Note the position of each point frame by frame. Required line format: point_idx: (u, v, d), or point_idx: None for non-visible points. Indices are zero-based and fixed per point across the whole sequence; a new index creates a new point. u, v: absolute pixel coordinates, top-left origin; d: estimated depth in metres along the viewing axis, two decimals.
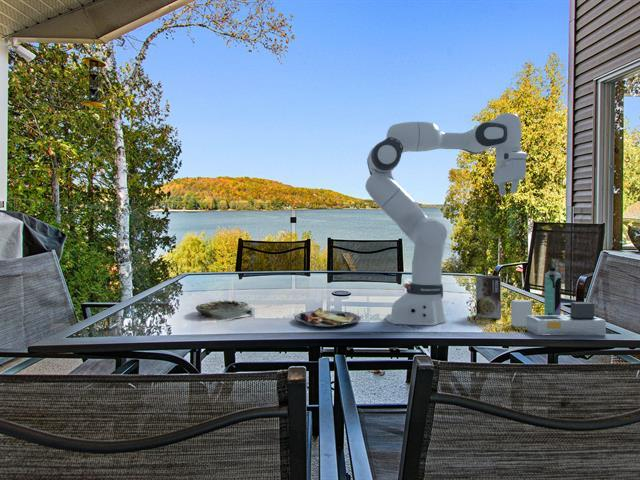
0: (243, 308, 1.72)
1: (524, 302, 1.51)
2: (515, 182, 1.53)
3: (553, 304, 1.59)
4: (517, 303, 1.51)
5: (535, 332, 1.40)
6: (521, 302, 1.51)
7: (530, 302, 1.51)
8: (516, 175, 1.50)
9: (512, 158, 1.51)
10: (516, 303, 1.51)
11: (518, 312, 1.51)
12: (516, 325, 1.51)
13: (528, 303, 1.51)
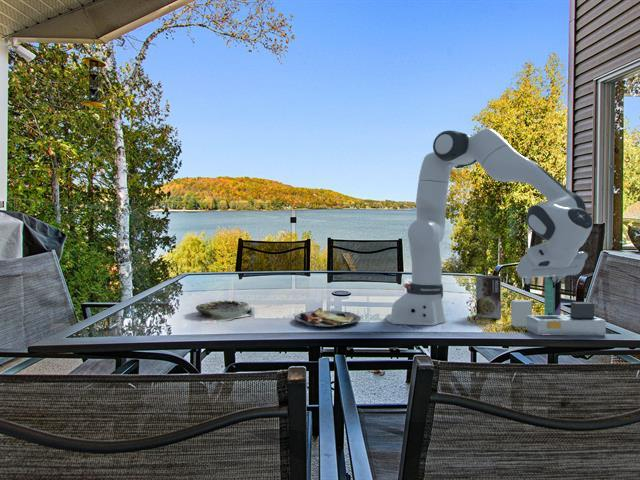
0: (243, 308, 1.72)
1: (524, 302, 1.51)
2: None
3: (553, 304, 1.59)
4: (517, 303, 1.51)
5: (535, 332, 1.40)
6: (521, 302, 1.51)
7: (530, 302, 1.51)
8: (516, 268, 1.37)
9: (527, 253, 1.33)
10: (516, 303, 1.51)
11: (518, 312, 1.51)
12: (516, 325, 1.51)
13: (528, 303, 1.51)
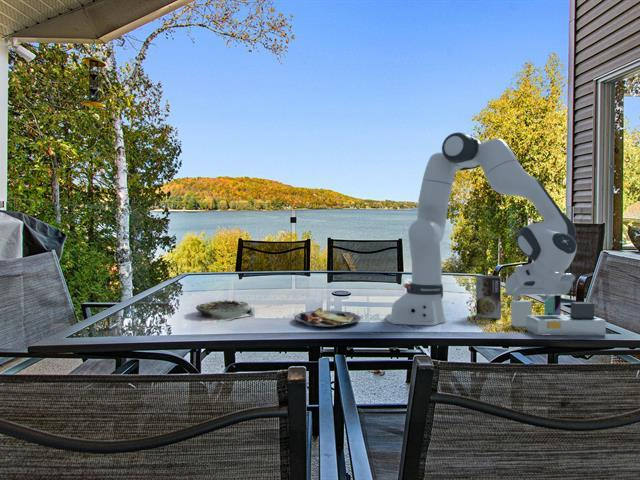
0: (243, 308, 1.72)
1: (524, 302, 1.51)
2: None
3: (553, 304, 1.59)
4: (517, 303, 1.51)
5: (535, 332, 1.40)
6: (521, 302, 1.51)
7: (530, 302, 1.51)
8: None
9: None
10: (516, 303, 1.51)
11: (517, 312, 1.51)
12: (516, 325, 1.51)
13: (528, 303, 1.51)
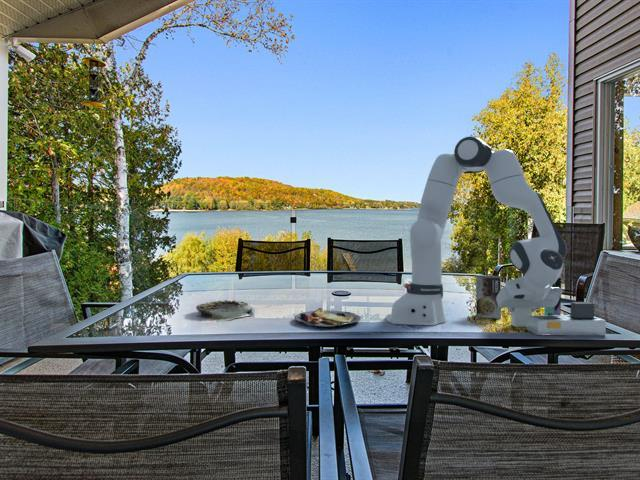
0: (243, 308, 1.72)
1: None
2: None
3: None
4: None
5: (535, 332, 1.40)
6: None
7: None
8: (496, 298, 1.50)
9: None
10: None
11: (517, 312, 1.51)
12: (516, 325, 1.51)
13: None
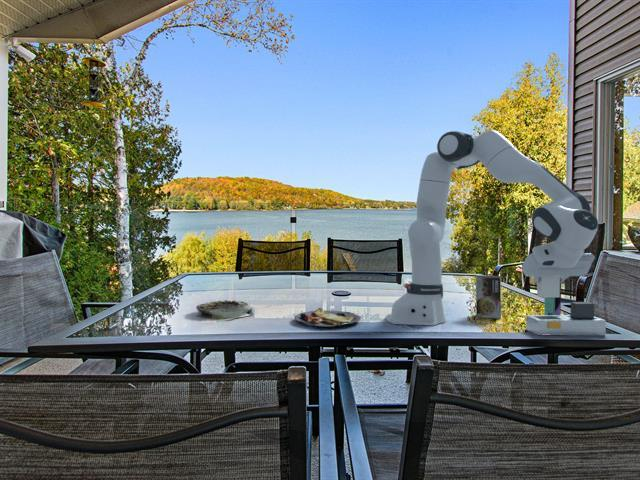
0: (243, 308, 1.72)
1: None
2: None
3: (553, 304, 1.59)
4: None
5: (535, 332, 1.40)
6: None
7: None
8: (522, 267, 1.39)
9: (533, 252, 1.35)
10: None
11: (545, 282, 1.41)
12: (543, 296, 1.41)
13: None
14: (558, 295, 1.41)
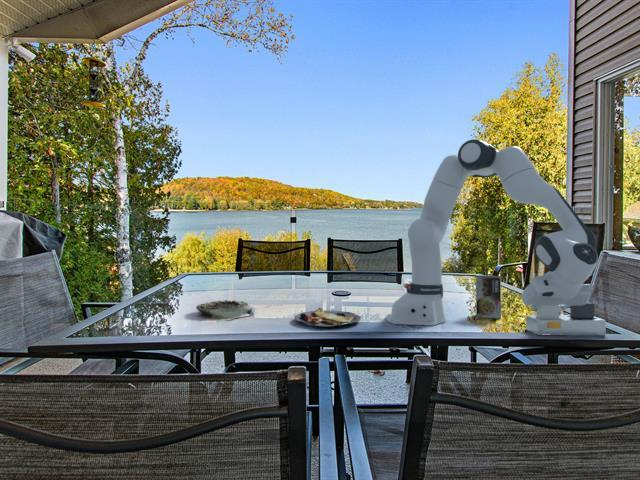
0: (243, 308, 1.72)
1: None
2: None
3: None
4: None
5: (535, 332, 1.40)
6: None
7: None
8: (521, 295, 1.40)
9: (532, 282, 1.36)
10: None
11: (544, 315, 1.41)
12: None
13: (555, 306, 1.41)
14: None
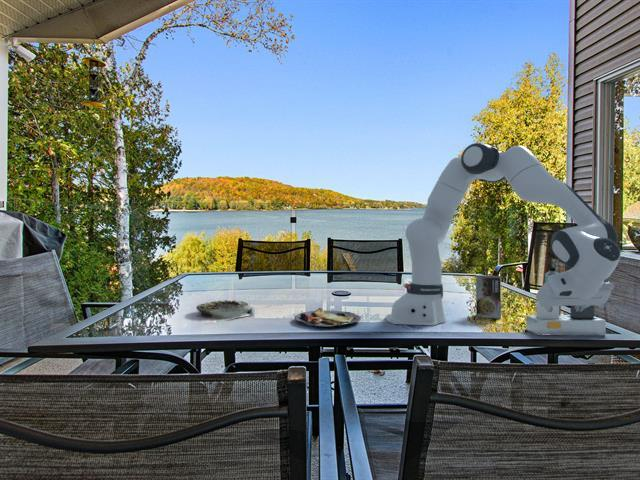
0: (244, 308, 1.72)
1: None
2: None
3: None
4: None
5: (535, 332, 1.40)
6: None
7: None
8: (536, 295, 1.31)
9: (548, 281, 1.27)
10: None
11: (544, 315, 1.41)
12: None
13: (555, 306, 1.41)
14: None
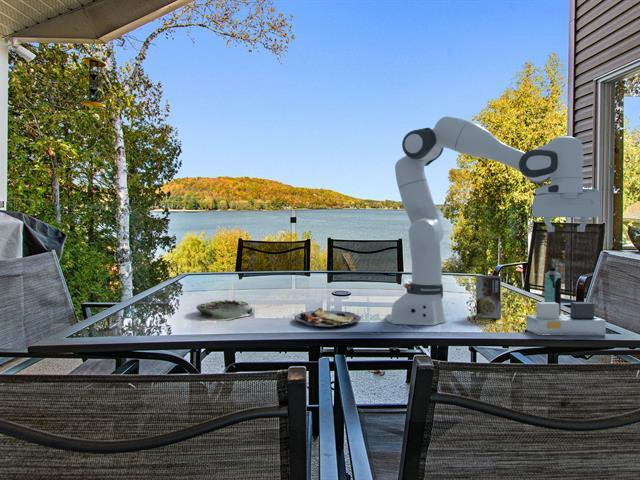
0: (244, 307, 1.72)
1: (551, 304, 1.41)
2: (545, 220, 1.34)
3: None
4: (543, 305, 1.41)
5: (535, 332, 1.40)
6: (547, 304, 1.41)
7: (557, 304, 1.41)
8: (532, 213, 1.36)
9: (536, 194, 1.36)
10: (542, 305, 1.41)
11: (544, 315, 1.41)
12: None
13: (555, 306, 1.41)
14: None
